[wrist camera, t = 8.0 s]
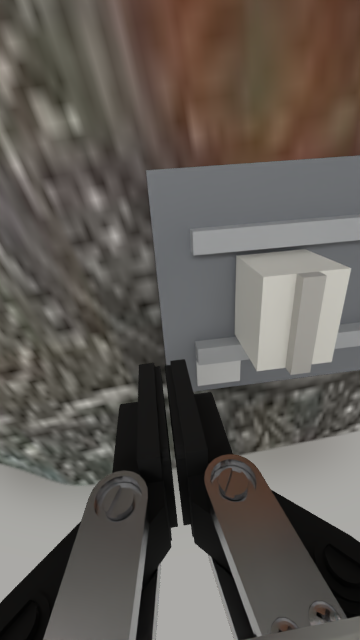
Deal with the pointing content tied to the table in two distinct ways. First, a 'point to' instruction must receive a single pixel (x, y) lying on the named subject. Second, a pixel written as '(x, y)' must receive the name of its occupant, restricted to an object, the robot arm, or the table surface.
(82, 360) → the table surface
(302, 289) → the knob
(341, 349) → the breaker panel
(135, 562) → the robot arm
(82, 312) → the table surface
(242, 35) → the table surface
